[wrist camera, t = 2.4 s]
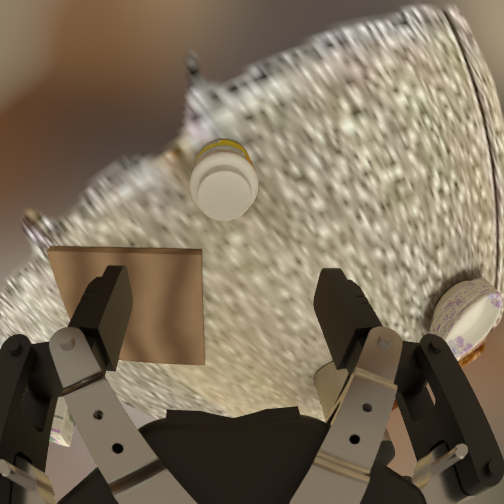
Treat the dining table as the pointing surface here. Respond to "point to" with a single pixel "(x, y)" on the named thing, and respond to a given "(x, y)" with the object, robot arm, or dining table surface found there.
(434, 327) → the paper bowls
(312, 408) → the dining table surface
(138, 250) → the walnut board
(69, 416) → the syrup box
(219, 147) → the supplement bottle
